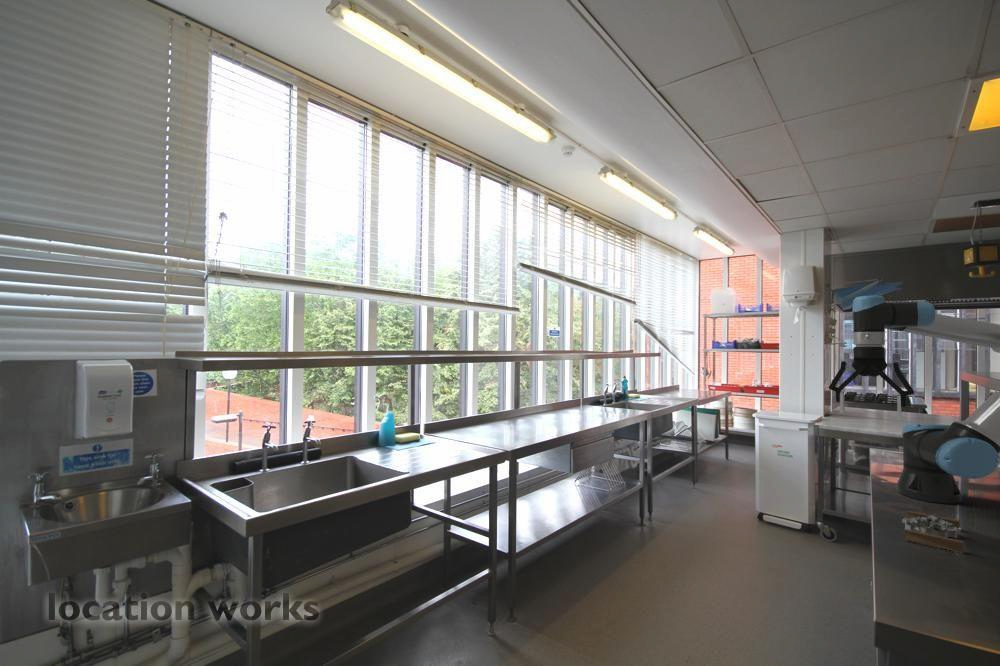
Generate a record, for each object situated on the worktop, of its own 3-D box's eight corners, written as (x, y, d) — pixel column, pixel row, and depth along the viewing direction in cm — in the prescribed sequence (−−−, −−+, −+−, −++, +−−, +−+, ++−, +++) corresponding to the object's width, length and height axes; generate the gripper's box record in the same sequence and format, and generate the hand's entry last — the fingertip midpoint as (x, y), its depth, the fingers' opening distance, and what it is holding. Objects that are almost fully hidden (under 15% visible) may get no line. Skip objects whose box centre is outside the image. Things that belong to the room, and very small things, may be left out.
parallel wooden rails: (908, 519, 125) (907, 510, 125) (959, 530, 118) (959, 520, 119) (905, 540, 112) (905, 530, 112) (963, 554, 105) (963, 543, 105)
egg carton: (929, 543, 111) (929, 526, 111) (898, 530, 119) (897, 514, 119) (965, 540, 113) (965, 523, 113) (932, 528, 120) (932, 512, 120)
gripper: (817, 345, 145) (818, 412, 145) (924, 346, 128) (925, 421, 128) (821, 345, 151) (822, 409, 150) (924, 346, 134) (925, 418, 133)
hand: (869, 415), depth 139 cm, fingers open, 13 cm apart
